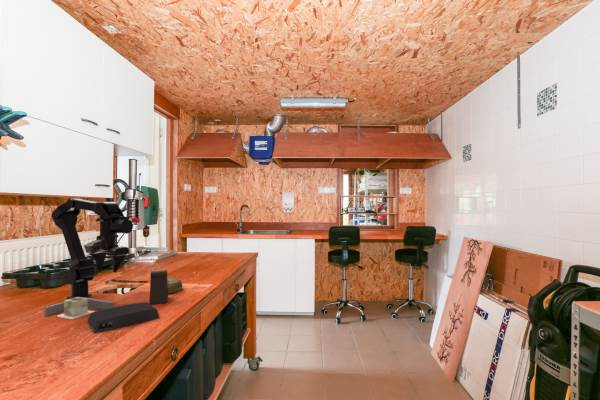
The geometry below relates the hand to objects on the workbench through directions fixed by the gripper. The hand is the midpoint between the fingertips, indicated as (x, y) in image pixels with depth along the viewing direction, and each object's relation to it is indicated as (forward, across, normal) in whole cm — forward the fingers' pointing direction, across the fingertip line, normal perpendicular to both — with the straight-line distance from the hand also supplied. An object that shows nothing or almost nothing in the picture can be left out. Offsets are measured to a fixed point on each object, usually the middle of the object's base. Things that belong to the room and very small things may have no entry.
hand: (107, 271), depth 131 cm
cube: (+12, +6, -16) cm, 20 cm away
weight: (+12, +10, +21) cm, 26 cm away
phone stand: (+12, +20, +8) cm, 25 cm away
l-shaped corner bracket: (+12, +6, -14) cm, 19 cm away
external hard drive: (+12, +27, -12) cm, 32 cm away
